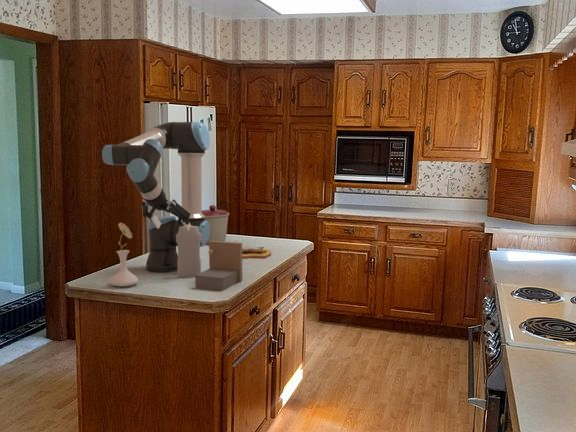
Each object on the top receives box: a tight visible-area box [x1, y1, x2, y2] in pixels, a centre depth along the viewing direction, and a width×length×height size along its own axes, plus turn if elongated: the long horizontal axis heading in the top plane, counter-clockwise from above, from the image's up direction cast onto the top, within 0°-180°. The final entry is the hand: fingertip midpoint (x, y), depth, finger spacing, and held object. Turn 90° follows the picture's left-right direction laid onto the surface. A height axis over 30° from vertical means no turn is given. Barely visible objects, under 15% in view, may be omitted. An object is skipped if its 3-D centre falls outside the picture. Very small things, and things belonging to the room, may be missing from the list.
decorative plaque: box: [232, 240, 272, 260], centre depth 298 cm, size 30×7×20 cm
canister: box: [202, 204, 230, 246], centre depth 325 cm, size 18×18×21 cm
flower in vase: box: [108, 222, 139, 287], centre depth 238 cm, size 13×11×25 cm
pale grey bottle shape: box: [176, 226, 202, 279], centre depth 252 cm, size 11×4×22 cm, turn 105°
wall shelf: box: [194, 241, 243, 291], centre depth 240 cm, size 14×16×16 cm
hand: (174, 227), depth 239 cm, fingers open, 13 cm apart
